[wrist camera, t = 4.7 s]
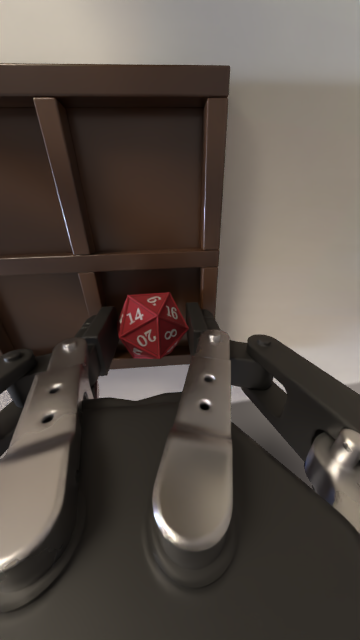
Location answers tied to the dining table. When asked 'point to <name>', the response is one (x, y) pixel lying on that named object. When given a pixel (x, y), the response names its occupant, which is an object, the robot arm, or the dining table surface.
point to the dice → (150, 325)
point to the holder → (107, 195)
